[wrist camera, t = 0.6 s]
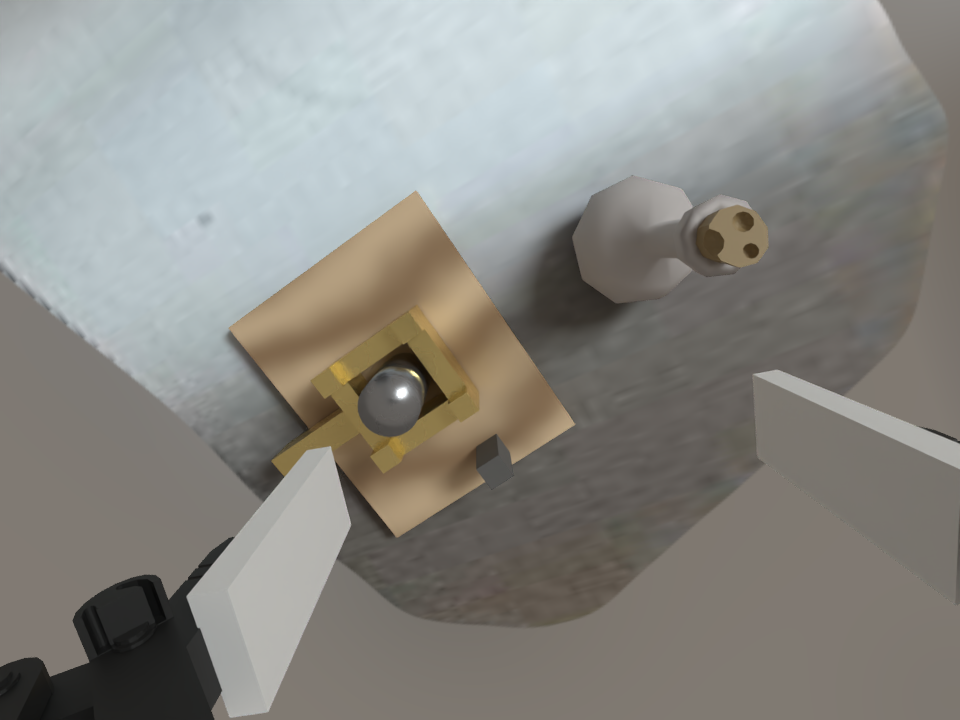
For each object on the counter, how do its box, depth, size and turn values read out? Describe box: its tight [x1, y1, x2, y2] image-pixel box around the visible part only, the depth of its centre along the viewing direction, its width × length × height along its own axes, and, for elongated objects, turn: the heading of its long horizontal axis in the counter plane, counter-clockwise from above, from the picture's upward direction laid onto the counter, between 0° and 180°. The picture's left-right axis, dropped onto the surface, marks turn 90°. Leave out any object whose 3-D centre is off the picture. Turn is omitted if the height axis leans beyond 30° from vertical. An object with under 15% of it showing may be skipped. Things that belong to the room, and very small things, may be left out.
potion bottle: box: [572, 175, 768, 304], centre depth 30 cm, size 9×9×18 cm
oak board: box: [229, 191, 575, 538], centre depth 40 cm, size 22×18×1 cm
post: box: [358, 353, 431, 437], centre depth 36 cm, size 4×4×9 cm
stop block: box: [476, 434, 514, 490], centre depth 39 cm, size 2×2×4 cm
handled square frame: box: [271, 305, 480, 477], centre depth 37 cm, size 15×8×5 cm, turn 124°
